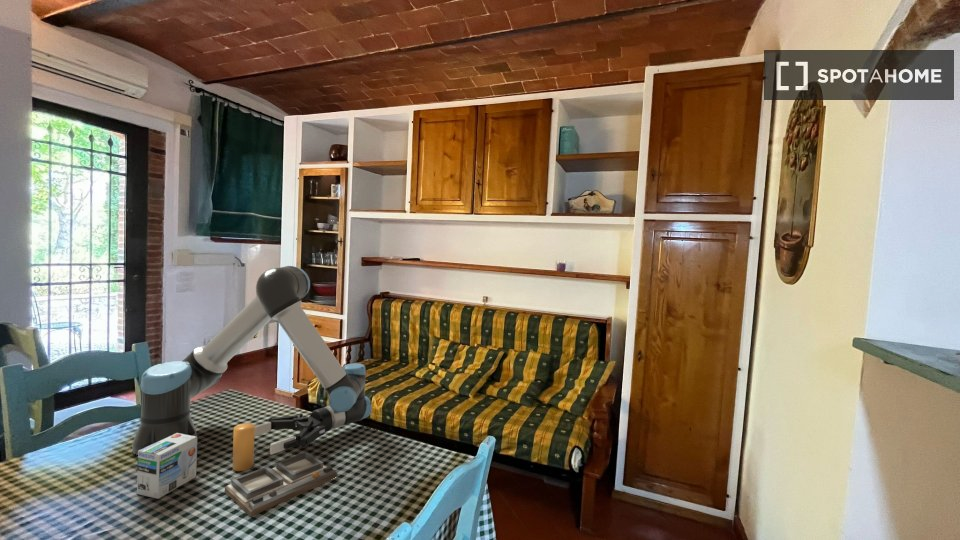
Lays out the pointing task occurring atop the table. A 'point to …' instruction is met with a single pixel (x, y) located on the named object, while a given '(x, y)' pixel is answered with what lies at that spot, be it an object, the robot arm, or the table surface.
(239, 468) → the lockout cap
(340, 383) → the robot arm
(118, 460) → the table surface
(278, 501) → the board
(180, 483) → the light bulb box
